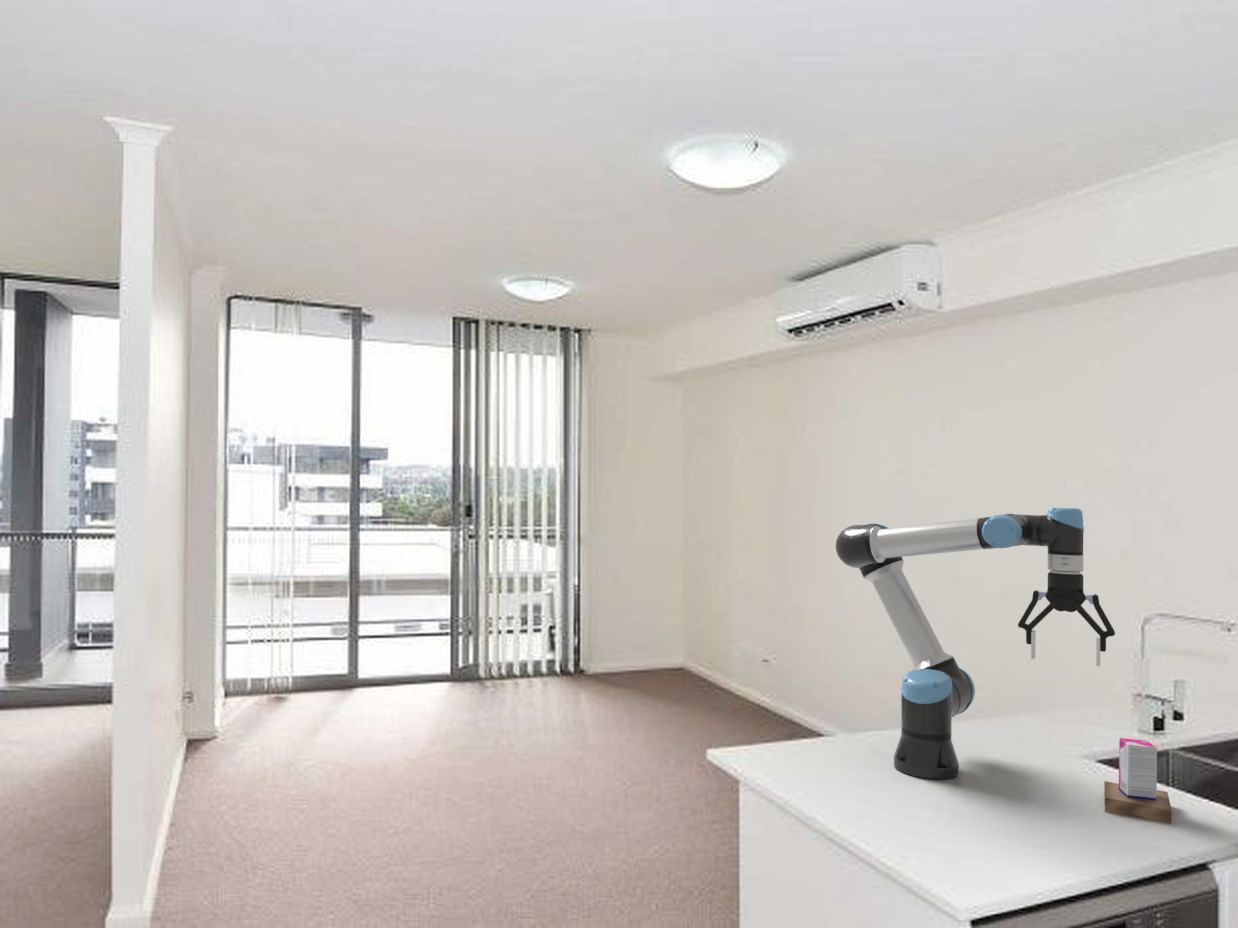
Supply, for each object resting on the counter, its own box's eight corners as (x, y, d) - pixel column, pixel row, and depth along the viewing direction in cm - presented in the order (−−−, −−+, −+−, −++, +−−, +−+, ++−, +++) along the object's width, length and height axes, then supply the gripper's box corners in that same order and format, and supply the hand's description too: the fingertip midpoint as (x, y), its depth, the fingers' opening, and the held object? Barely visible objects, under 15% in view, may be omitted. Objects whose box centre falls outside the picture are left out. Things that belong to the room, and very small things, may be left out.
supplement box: (1157, 801, 175) (1157, 747, 175) (1126, 798, 176) (1126, 744, 177) (1147, 791, 181) (1147, 739, 181) (1117, 788, 182) (1117, 736, 182)
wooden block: (1104, 811, 176) (1104, 797, 177) (1104, 794, 187) (1104, 780, 187) (1171, 823, 170) (1171, 809, 170) (1167, 805, 181) (1167, 791, 181)
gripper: (1006, 569, 198) (1006, 657, 197) (1127, 577, 185) (1127, 671, 185) (1009, 567, 205) (1008, 652, 204) (1126, 574, 192) (1126, 665, 191)
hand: (1065, 661), depth 194 cm, fingers open, 13 cm apart
